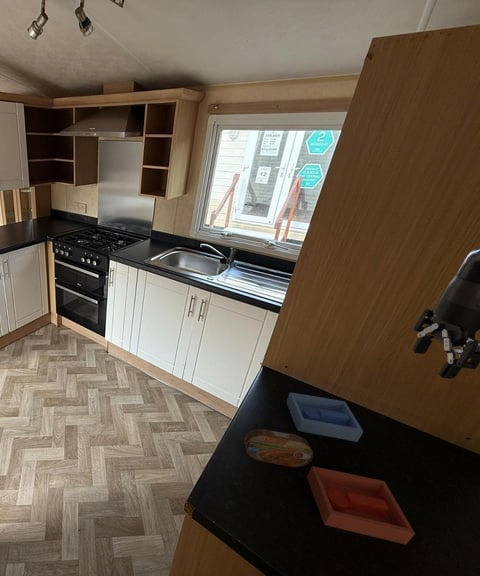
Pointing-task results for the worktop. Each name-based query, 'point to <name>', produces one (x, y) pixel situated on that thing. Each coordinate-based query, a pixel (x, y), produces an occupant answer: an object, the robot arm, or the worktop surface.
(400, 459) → the worktop surface
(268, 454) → the tin
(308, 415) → the blue spoon
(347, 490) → the terracotta bin
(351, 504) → the red spoon
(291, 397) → the blue bin
